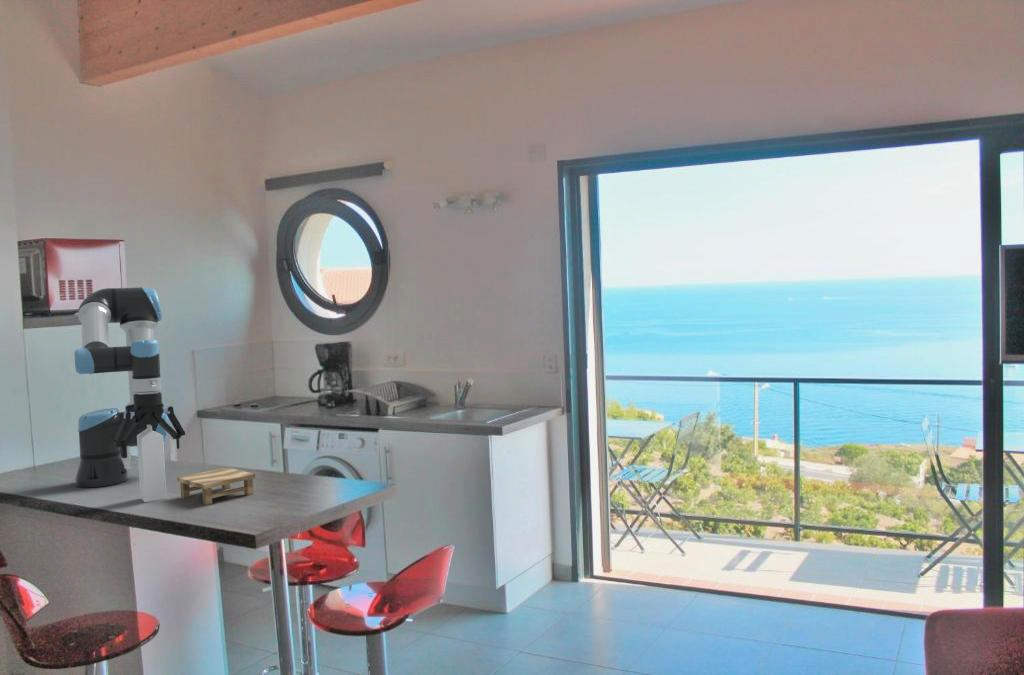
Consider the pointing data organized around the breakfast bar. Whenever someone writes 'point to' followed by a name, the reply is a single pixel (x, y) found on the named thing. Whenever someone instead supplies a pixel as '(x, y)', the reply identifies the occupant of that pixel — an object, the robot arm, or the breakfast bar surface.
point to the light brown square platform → (216, 483)
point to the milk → (151, 465)
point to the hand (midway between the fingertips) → (151, 464)
